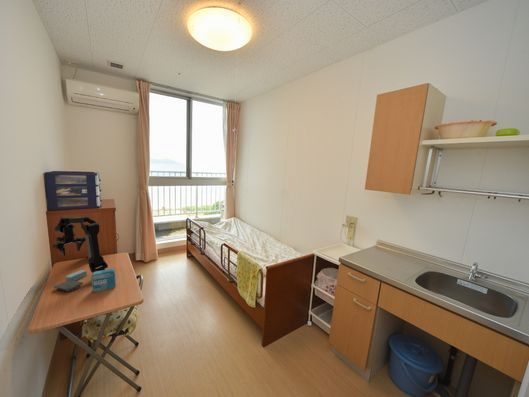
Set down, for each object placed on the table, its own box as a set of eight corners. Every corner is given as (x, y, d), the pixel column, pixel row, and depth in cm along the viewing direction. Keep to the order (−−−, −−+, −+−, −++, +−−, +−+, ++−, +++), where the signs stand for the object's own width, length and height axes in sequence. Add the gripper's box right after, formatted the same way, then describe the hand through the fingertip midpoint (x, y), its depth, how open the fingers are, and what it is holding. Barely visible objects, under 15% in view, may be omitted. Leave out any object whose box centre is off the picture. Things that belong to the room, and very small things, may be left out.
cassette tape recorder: (97, 259, 187) (94, 231, 183) (88, 260, 184) (85, 232, 180) (99, 253, 199) (96, 227, 195) (90, 255, 195) (87, 228, 192)
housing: (86, 276, 159) (86, 270, 158) (71, 282, 149) (70, 277, 149) (82, 275, 160) (81, 269, 160) (66, 281, 151) (65, 276, 150)
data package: (92, 292, 137) (90, 275, 135) (94, 289, 141) (92, 272, 139) (115, 287, 143) (113, 270, 141) (116, 284, 147) (114, 267, 145)
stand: (83, 286, 145) (82, 282, 144) (67, 293, 136) (67, 289, 136) (70, 282, 149) (69, 279, 148) (54, 289, 140) (53, 286, 140)
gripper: (75, 229, 171) (78, 247, 174) (46, 236, 154) (48, 256, 156) (85, 230, 168) (87, 249, 170) (56, 237, 150) (59, 258, 153)
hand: (71, 253), depth 162 cm, fingers open, 9 cm apart
